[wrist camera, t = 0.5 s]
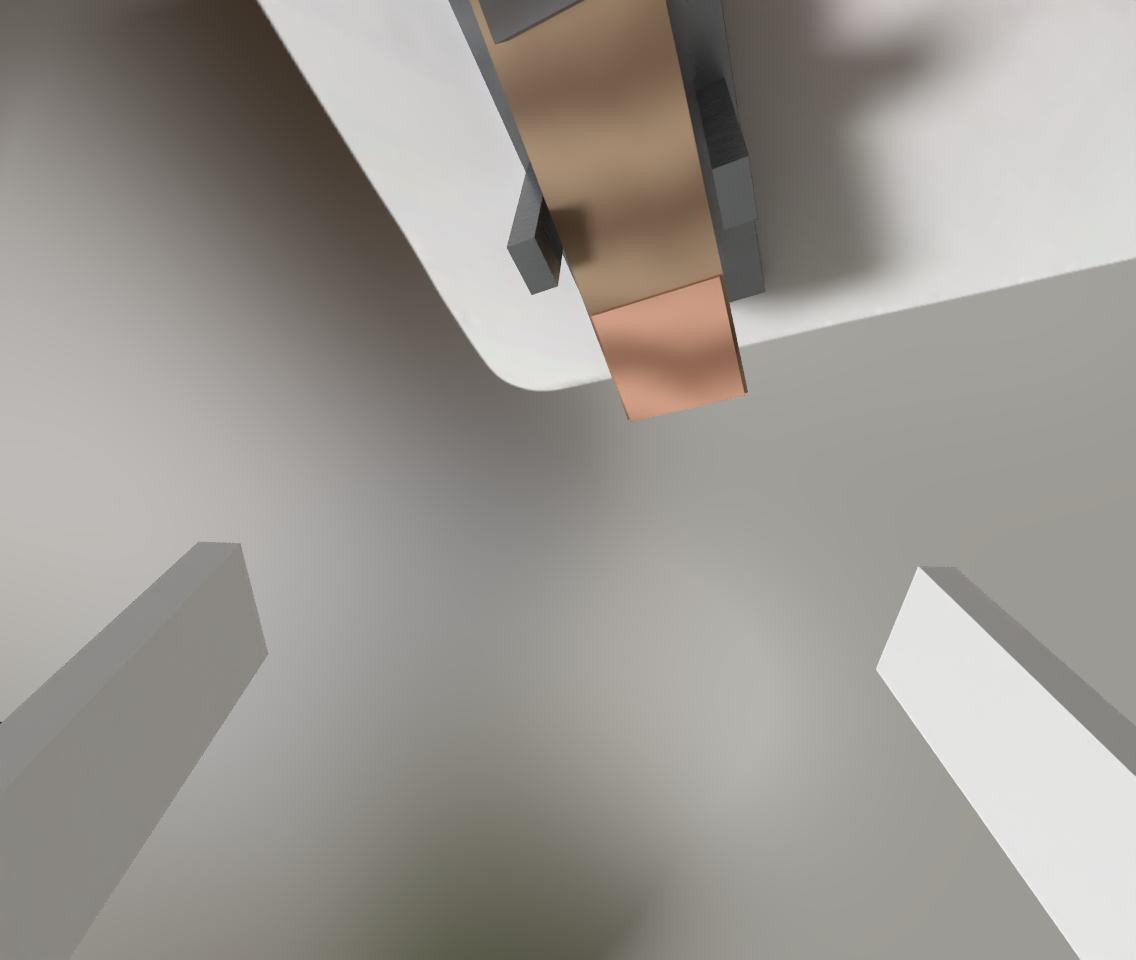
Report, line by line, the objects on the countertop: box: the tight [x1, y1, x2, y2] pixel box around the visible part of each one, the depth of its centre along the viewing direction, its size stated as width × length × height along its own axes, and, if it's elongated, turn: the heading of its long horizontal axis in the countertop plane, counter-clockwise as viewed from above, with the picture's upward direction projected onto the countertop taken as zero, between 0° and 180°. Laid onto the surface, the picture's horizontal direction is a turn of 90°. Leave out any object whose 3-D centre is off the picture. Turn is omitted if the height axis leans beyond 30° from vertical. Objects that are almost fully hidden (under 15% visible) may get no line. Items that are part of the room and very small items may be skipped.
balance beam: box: [470, 0, 748, 422], centre depth 28 cm, size 26×8×4 cm, turn 23°
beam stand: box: [449, 0, 765, 302], centre depth 30 cm, size 26×13×11 cm, turn 23°
